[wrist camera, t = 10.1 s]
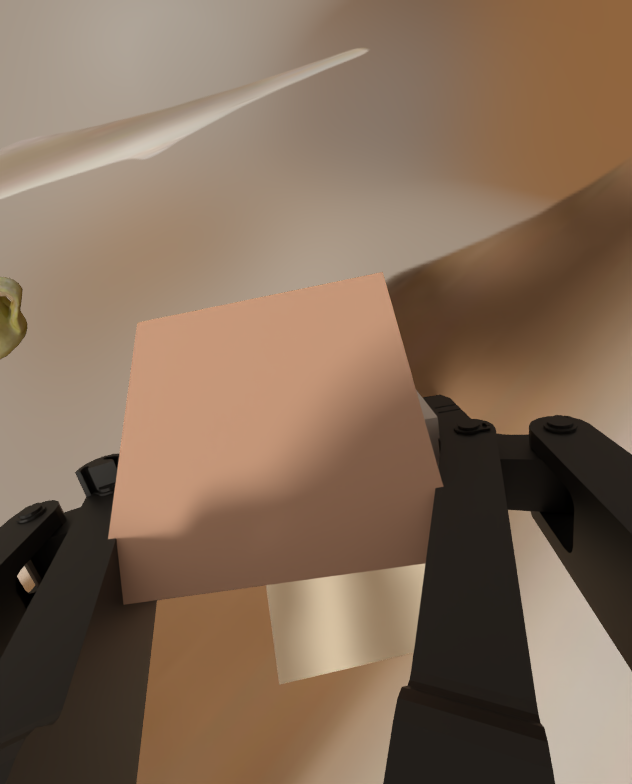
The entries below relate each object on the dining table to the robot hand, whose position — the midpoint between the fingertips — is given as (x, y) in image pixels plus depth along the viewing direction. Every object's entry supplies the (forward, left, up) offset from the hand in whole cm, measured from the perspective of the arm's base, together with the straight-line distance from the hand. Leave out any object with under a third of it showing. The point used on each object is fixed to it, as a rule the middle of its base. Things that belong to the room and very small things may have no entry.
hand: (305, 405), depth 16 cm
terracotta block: (+1, +3, -4) cm, 5 cm away
